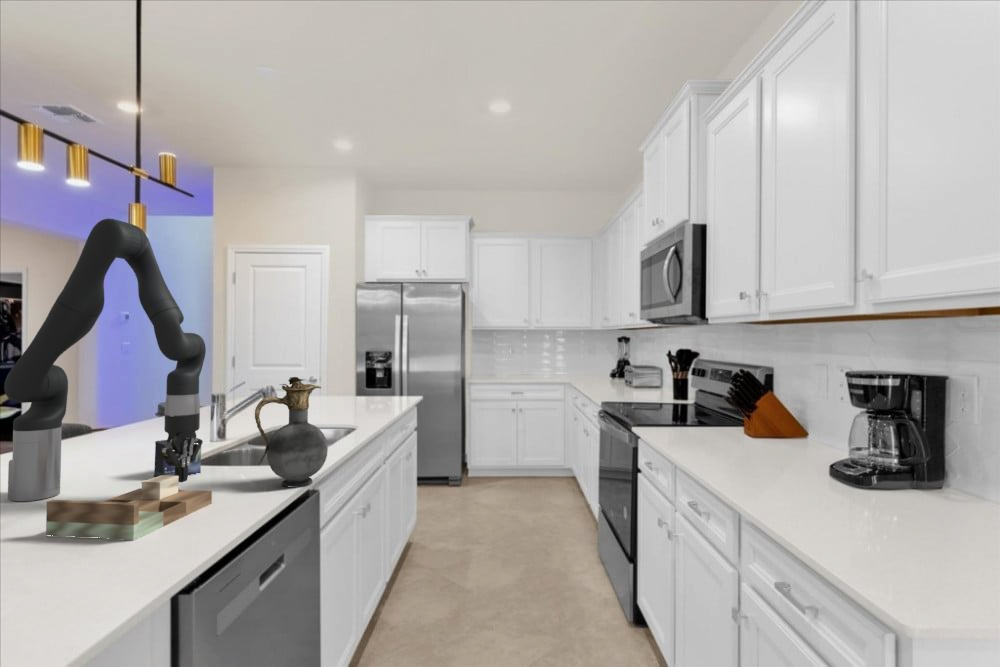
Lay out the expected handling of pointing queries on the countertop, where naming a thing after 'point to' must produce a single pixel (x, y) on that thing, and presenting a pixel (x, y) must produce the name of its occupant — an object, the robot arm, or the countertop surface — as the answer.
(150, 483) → the block
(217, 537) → the countertop surface
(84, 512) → the wooden compartment tray
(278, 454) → the pitcher
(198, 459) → the small box
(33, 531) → the countertop surface
